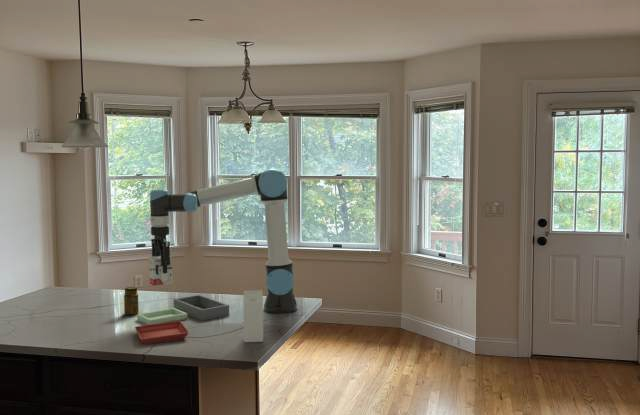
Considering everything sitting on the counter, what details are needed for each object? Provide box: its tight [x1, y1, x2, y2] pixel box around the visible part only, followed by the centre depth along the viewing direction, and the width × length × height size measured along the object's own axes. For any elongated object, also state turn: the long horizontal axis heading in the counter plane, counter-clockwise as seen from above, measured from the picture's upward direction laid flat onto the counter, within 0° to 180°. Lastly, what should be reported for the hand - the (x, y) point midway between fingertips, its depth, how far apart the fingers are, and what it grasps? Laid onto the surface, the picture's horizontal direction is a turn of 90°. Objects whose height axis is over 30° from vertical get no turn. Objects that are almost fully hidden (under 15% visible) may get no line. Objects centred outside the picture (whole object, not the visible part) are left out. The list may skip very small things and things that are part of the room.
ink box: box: [149, 255, 174, 286], centre depth 254 cm, size 8×5×12 cm, turn 124°
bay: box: [173, 294, 230, 321], centre depth 269 cm, size 27×14×4 cm, turn 40°
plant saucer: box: [134, 320, 190, 345], centre depth 231 cm, size 18×18×3 cm
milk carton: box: [242, 289, 264, 343], centre depth 226 cm, size 7×7×19 cm
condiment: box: [122, 286, 141, 318], centre depth 264 cm, size 7×8×12 cm
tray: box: [136, 307, 189, 325], centre depth 256 cm, size 13×17×2 cm
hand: (161, 279), depth 255 cm, fingers closed on ink box, 5 cm apart
